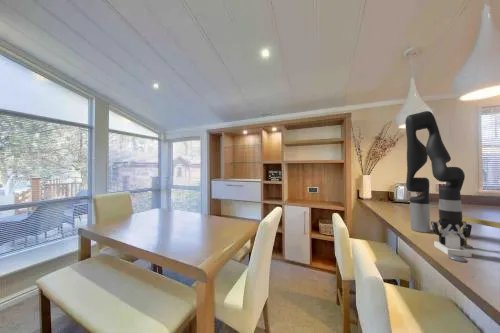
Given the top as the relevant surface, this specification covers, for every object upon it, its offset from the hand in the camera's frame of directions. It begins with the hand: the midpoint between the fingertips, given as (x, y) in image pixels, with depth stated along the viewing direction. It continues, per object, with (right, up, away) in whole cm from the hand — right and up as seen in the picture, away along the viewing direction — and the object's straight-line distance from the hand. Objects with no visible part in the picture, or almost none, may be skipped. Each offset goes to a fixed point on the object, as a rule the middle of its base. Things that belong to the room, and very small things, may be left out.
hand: (451, 244), depth 87 cm
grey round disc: (-6, -3, -8) cm, 10 cm away
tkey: (+12, -2, -1) cm, 12 cm away
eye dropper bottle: (0, -3, 0) cm, 3 cm away
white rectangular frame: (0, -3, 0) cm, 3 cm away
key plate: (+11, -3, +5) cm, 12 cm away
